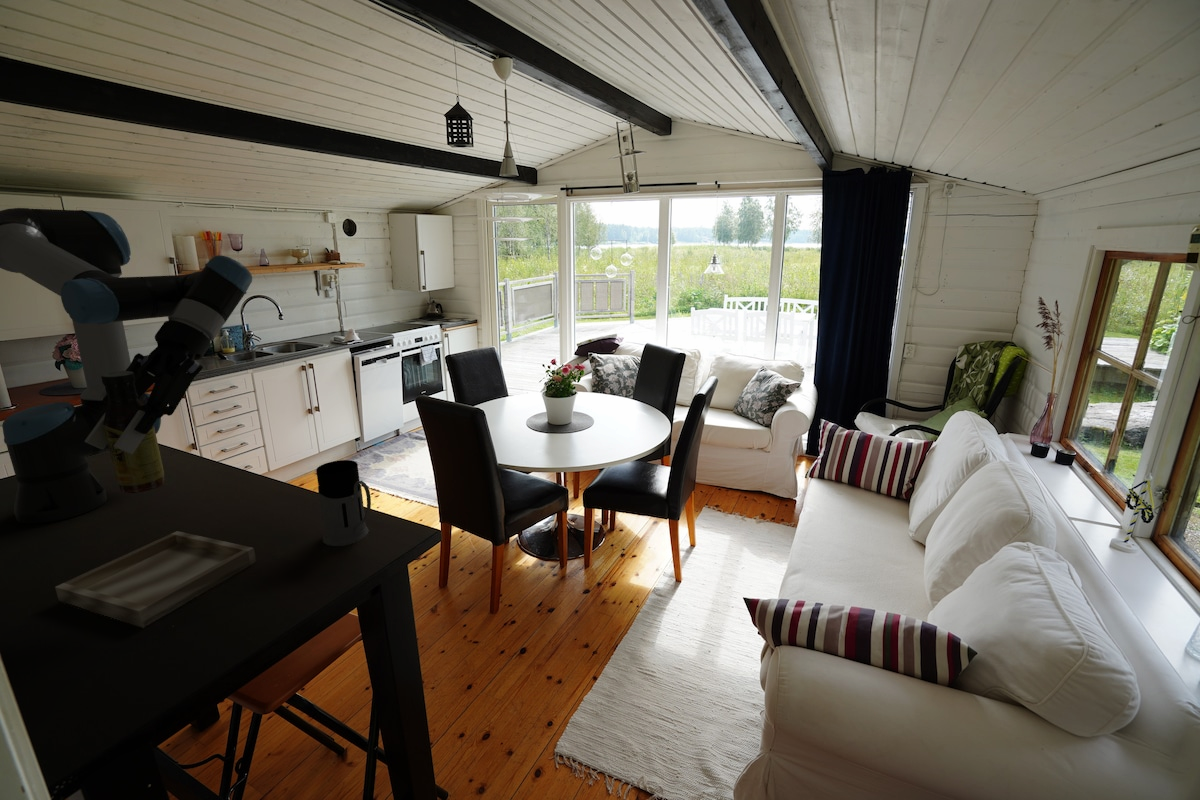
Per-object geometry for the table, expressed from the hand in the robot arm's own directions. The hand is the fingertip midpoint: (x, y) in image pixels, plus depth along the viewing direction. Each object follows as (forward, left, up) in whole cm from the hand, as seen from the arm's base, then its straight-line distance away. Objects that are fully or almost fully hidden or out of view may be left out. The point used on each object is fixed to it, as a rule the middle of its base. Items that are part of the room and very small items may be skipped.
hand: (108, 447), depth 90 cm
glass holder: (+21, +26, -26) cm, 43 cm away
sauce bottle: (0, +4, -9) cm, 9 cm away
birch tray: (0, +3, -26) cm, 26 cm away
